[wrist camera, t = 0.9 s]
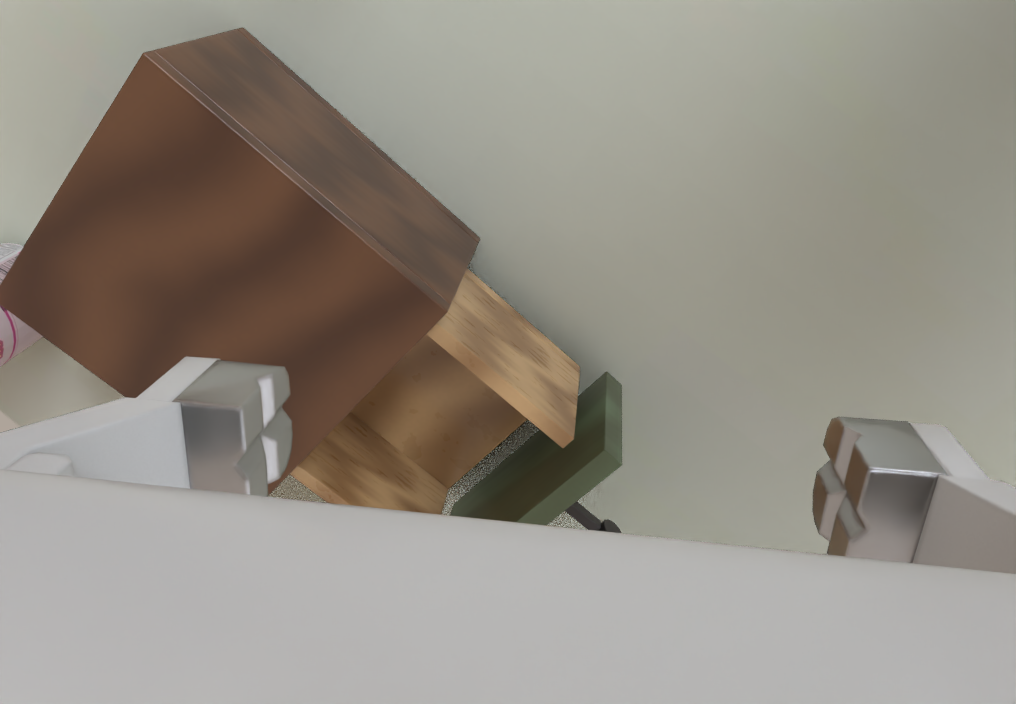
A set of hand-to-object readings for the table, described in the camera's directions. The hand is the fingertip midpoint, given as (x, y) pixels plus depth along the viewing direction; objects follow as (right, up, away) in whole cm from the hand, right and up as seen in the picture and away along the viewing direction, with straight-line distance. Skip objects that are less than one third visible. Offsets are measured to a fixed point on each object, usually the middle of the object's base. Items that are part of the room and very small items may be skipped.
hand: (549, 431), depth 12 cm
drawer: (-3, -2, +35) cm, 35 cm away
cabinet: (-13, +8, +33) cm, 36 cm away
